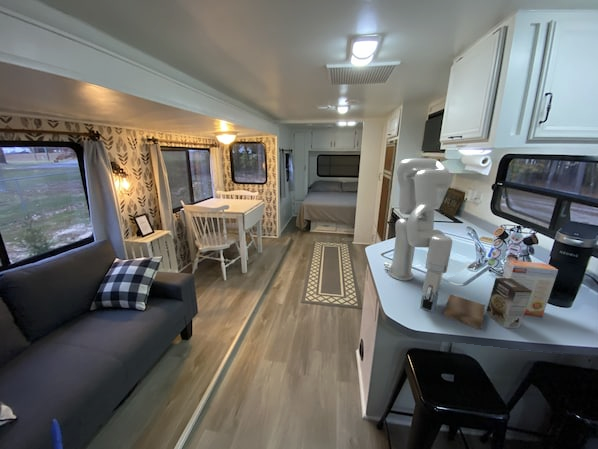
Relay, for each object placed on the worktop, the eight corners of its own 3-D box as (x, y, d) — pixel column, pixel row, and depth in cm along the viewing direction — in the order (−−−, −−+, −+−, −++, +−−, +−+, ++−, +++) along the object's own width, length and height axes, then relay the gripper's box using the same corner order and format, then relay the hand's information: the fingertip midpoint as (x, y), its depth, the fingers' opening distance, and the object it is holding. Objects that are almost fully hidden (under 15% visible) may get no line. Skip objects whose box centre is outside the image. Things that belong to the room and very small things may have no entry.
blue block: (420, 307, 99) (422, 295, 97) (423, 302, 103) (425, 290, 101) (433, 312, 96) (436, 300, 94) (436, 307, 100) (438, 294, 98)
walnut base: (443, 315, 94) (445, 307, 93) (448, 301, 103) (450, 294, 102) (480, 329, 87) (483, 320, 86) (482, 313, 96) (485, 305, 95)
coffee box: (484, 312, 96) (494, 277, 92) (500, 312, 96) (511, 277, 92) (503, 328, 88) (514, 290, 83) (520, 328, 88) (533, 290, 83)
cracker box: (533, 308, 99) (549, 263, 93) (542, 317, 94) (560, 270, 88) (494, 302, 103) (506, 258, 97) (501, 310, 98) (514, 265, 92)
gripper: (430, 256, 102) (424, 291, 107) (420, 270, 90) (414, 309, 94) (450, 261, 98) (443, 297, 103) (443, 276, 85) (435, 317, 90)
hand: (429, 303), depth 98 cm, fingers open, 9 cm apart
